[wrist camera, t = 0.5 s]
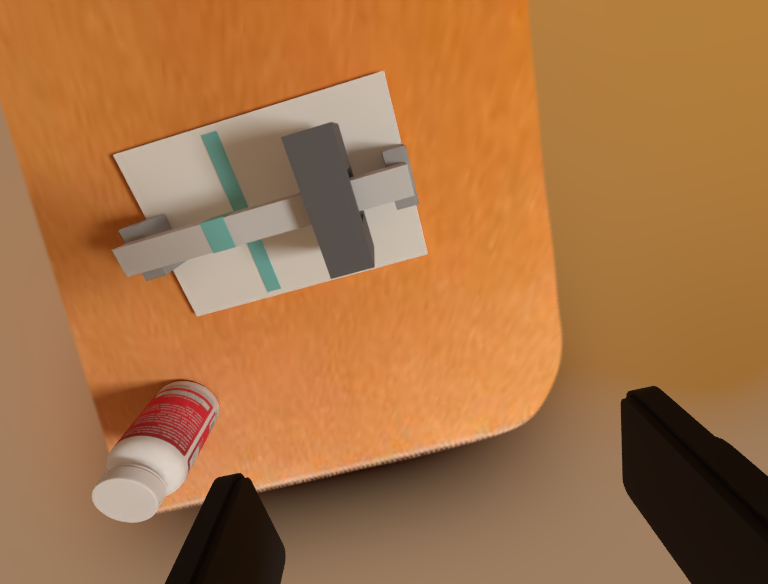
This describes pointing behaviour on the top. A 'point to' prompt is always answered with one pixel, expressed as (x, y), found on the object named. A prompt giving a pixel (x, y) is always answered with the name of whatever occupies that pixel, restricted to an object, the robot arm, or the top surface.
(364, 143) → the rail stand
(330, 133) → the collar
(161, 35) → the top surface
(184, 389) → the pill bottle
